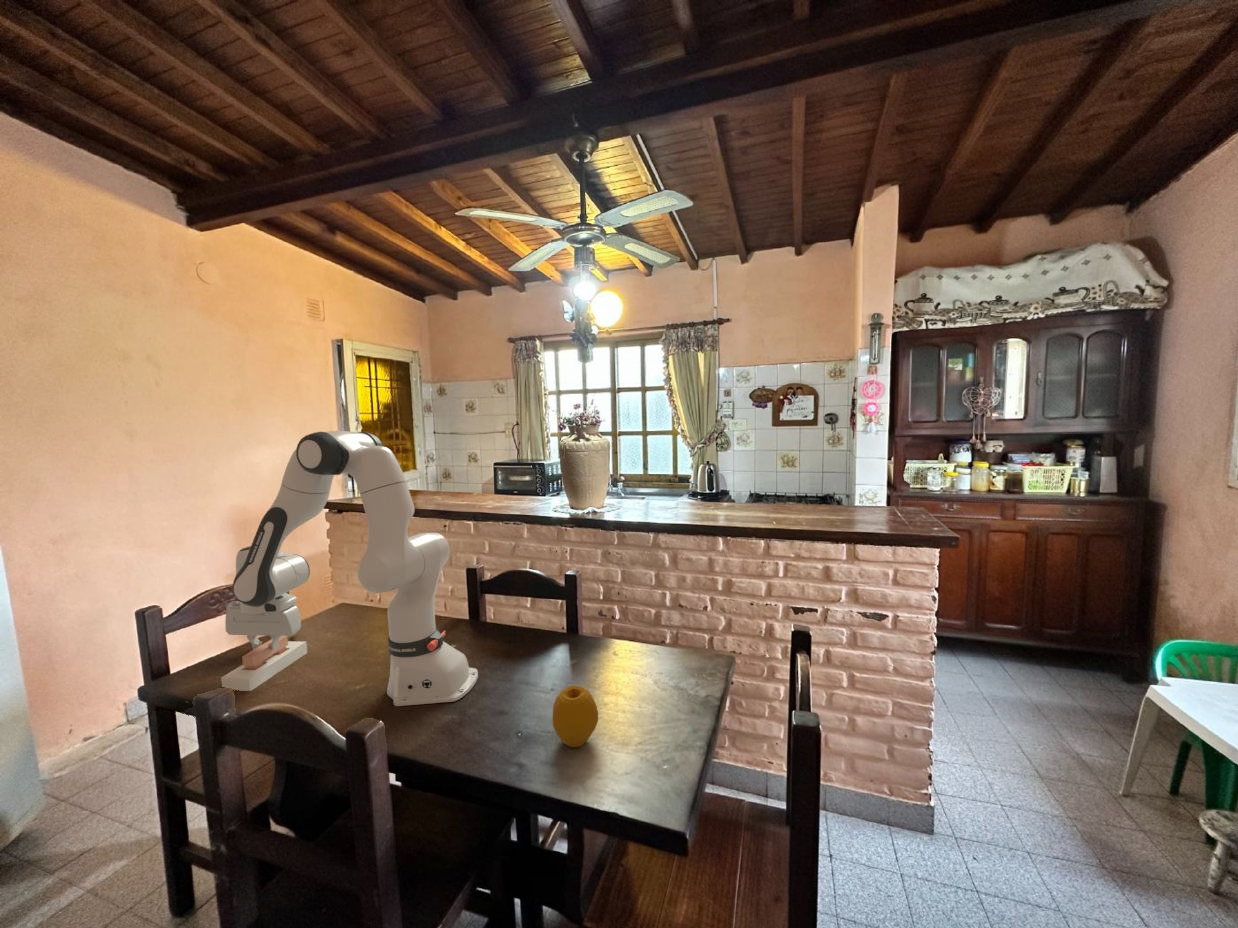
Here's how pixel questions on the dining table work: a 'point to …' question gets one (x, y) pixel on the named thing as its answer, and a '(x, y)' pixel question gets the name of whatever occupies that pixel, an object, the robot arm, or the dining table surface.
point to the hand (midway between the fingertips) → (265, 648)
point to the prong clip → (263, 653)
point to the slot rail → (264, 668)
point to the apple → (574, 715)
